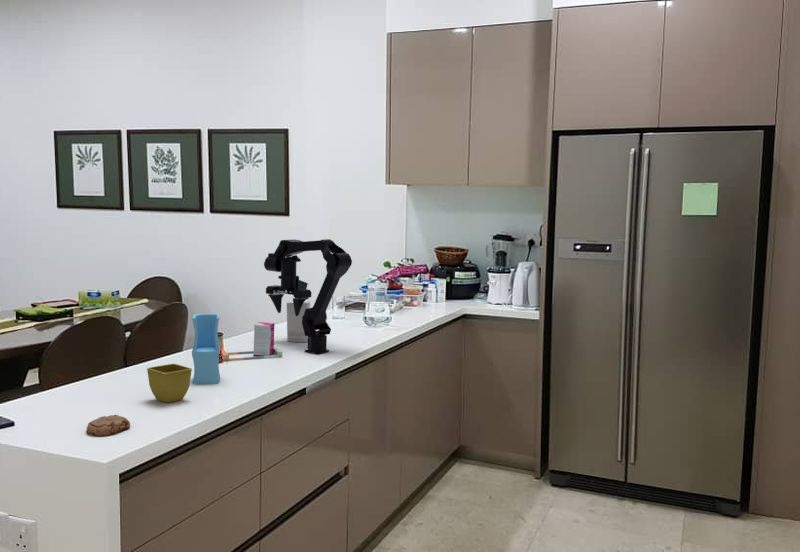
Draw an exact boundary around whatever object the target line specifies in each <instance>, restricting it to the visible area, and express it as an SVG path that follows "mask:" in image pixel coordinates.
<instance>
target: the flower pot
mask: <svg viewBox="0 0 800 552" xmlns="http://www.w3.org/2000/svg"><path fill="white" fill-rule="evenodd" d="M146 371H147V376H148V377H147V378H148V384H149V387H150V391H151V393H152V394H153V396H154V397H155V399H156V400H158V401H160V402H163V403H168V404H169V403H172V402H177V401H181V400H183V399H184V398H185V396H186V394H187V393H188V390H189V387H190V385H191V377H192V367H188V366H185V365H181V364H178V363H169V364H161V365H155V366H151V367H147V369H146Z"/></svg>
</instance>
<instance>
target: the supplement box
mask: <svg viewBox="0 0 800 552" xmlns="http://www.w3.org/2000/svg"><path fill="white" fill-rule="evenodd" d="M275 326H276V325H275V323H274V322H263V321H259V322H257V323H255V324H254V327H253V328H254V329H253V331H254V332H253V333H254V334H253V351H254V353H253V356H252V357H259V356H274V346H275Z"/></svg>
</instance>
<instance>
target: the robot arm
mask: <svg viewBox="0 0 800 552" xmlns="http://www.w3.org/2000/svg"><path fill="white" fill-rule="evenodd" d="M313 251H314V252H316V251H320V252H321V255H322V258H323V259H324V260H325V262H326V265H325V269H326V275H325V277H324V280H323V282H322V285H321V287H320V289H319V291H318V294H317V296H316V299H315V301H314V304H313V306H312V307H310V308H307V309H306V310H305V312H304V315H303V317H302V318H303V319H302V325H303V329H304V333H305V336H308V342H307V349H304V352H305V353H306V352H307V353H311V354H315V355H320V354H323V353H324V354H325V353H328V352H330V349H327V343H328V341H327V338H328V336H327V335H330V334H331V332H332V328H331V327H330V325H329V323H328V322H327V319H328V316H327V315H328V314H327V309H328V307H329V305H330V302H331V300H332V298H333V295H334V294H335V292H336V289H337V287H338V284H339V281H340V279H341V278H342V277H343V276H344V275H346V273H348V271H349V269H350V268H351V266H352V264H353V260H352V258H351V256H350V254H349V253H348V252H346V251H345V250H344V249H343V248H342V247H341V246H339V245H337V244H336V243H335V241H334V240H332V239H329V238H327V239H319V240H308V241H303V240H299V239H282V240H280V241H279V243H278V245H277V248H276V249H275V250H274V253H273V252H271V253H268V254H267V255H268V256H267V257H266V258H265V259H264V262H263V266H264V269H265V270H266V271H269V272H274V273H275V272H277V273H280V275H278V280H279V279H280V285H279V284H274V285H267V287H266V288H265V294H267V295H268V297H269V298H270V300H271V302H272V304H273V305H274V308H275V310H276V312H277V313H278V314H281V312H282V300H283V297H284V296H285V294H286V295H292V296H293V298H292V300H293V304H294V311H295V315H296V316H298V315H299V313H300V310H301V307H302V305H303V303H304V301H307V300H309V298H312V291H311V290H310V289H307V288H308V284H309V283H308V282H306V281H303V280H301V279H300V277H299V275H297V263H300V262H302V259H301V258H300V257H299V256H298V254H302V253H303V252H304V253H305V252H313Z"/></svg>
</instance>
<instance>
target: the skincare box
mask: <svg viewBox="0 0 800 552" xmlns="http://www.w3.org/2000/svg"><path fill="white" fill-rule="evenodd" d="M307 308H311V300H305V301H304V303H303V305H302V307H301V310H300V313H299V315H298V316H296V315H295V311H294V304H293V299H292V300H289V301H288V302H286V334H287V336H286V337H287V339H286V342H288V343H290V342H293V343H308V336H305V333H304V329H303V325H302V319H303V318H302V317H303V315H304V312H305V310H306V309H307Z"/></svg>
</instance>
